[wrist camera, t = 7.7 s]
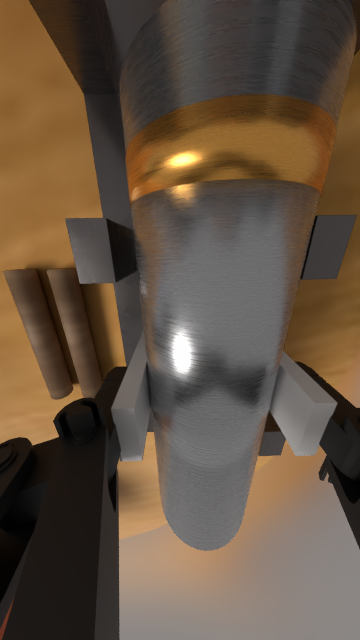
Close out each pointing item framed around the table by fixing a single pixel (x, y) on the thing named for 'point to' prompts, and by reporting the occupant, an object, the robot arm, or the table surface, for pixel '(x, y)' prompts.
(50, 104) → the table surface
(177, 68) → the tube
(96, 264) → the rail
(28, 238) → the table surface
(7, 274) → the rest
